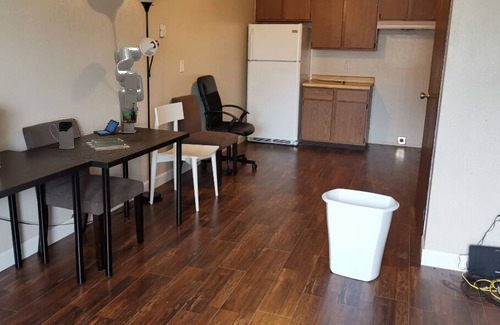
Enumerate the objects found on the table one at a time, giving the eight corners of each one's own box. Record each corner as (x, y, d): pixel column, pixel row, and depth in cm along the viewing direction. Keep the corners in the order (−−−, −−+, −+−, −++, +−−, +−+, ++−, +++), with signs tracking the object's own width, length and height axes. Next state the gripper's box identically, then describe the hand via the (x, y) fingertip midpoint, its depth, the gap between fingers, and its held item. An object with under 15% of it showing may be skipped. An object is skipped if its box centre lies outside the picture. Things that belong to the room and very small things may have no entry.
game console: (92, 133, 324) (92, 120, 321) (111, 131, 332) (111, 119, 330) (100, 136, 312) (100, 123, 310) (120, 135, 320) (119, 122, 318)
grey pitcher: (70, 149, 270) (69, 124, 266) (47, 148, 271) (45, 122, 267) (77, 146, 278) (75, 121, 275) (54, 145, 279) (52, 120, 275)
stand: (86, 144, 286) (86, 138, 285) (118, 141, 297) (117, 136, 296) (96, 151, 268) (96, 145, 267) (129, 148, 279) (129, 142, 278)
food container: (127, 124, 292) (126, 108, 289) (121, 123, 295) (120, 107, 293) (142, 122, 301) (142, 107, 298) (136, 121, 305) (136, 106, 302)
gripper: (120, 90, 298) (121, 117, 303) (129, 93, 285) (130, 122, 289) (132, 89, 302) (132, 116, 307) (141, 93, 289) (141, 121, 293)
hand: (131, 119), depth 298 cm, fingers closed on food container, 5 cm apart
